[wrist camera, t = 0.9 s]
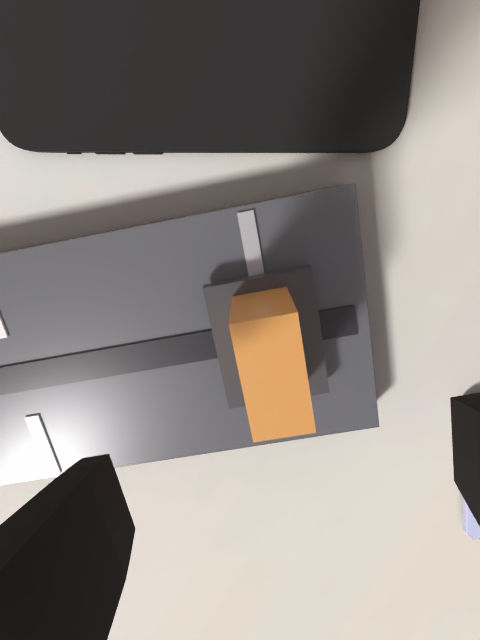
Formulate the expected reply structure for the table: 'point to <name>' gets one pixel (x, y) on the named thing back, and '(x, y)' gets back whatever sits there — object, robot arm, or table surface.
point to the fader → (270, 349)
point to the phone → (205, 75)
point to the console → (167, 334)
